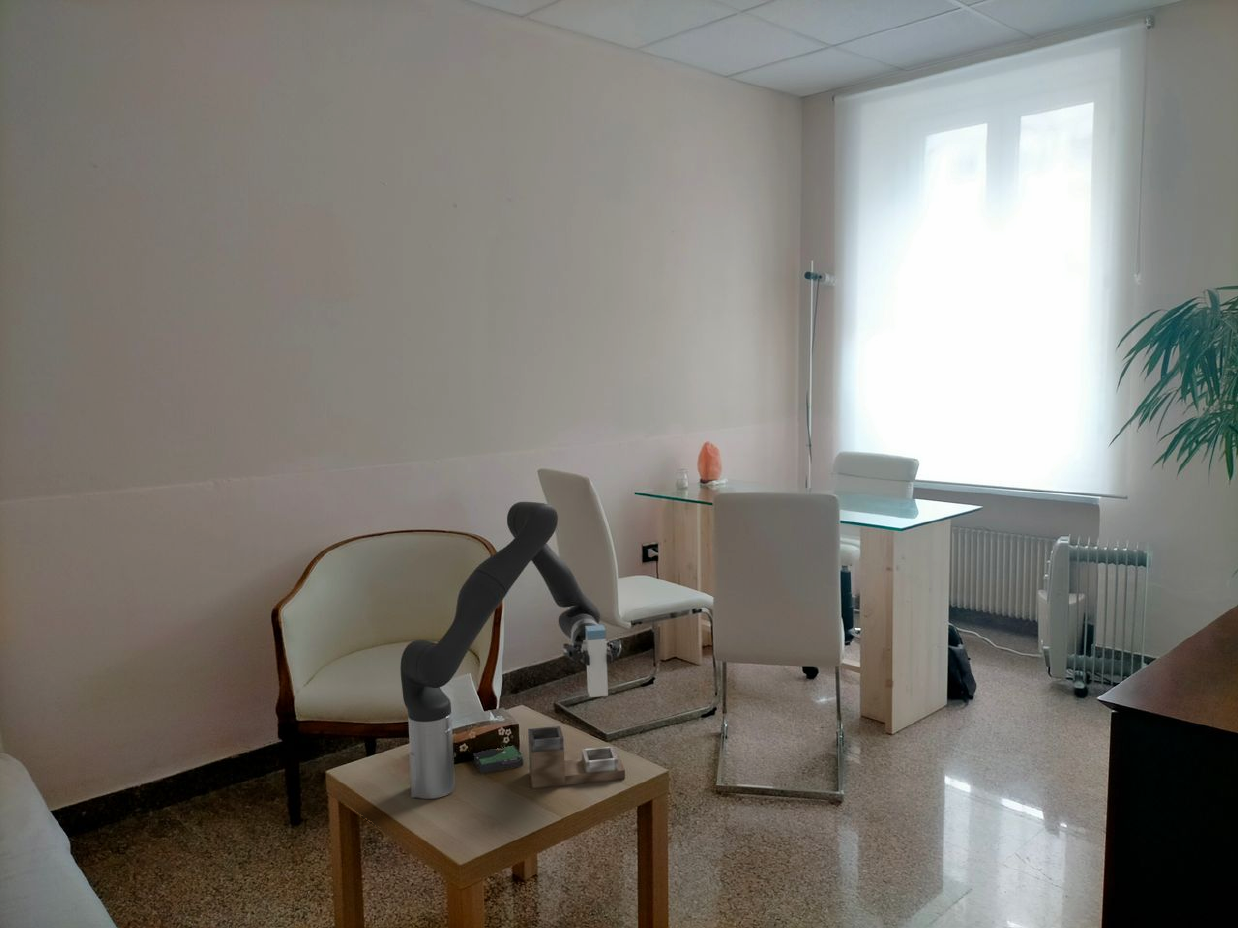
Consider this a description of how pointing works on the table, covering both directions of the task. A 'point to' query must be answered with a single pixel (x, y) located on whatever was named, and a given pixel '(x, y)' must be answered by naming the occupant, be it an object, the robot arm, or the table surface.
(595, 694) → the plug
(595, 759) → the square socket stand
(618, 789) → the table surface
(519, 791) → the table surface
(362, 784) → the table surface
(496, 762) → the disk drive
